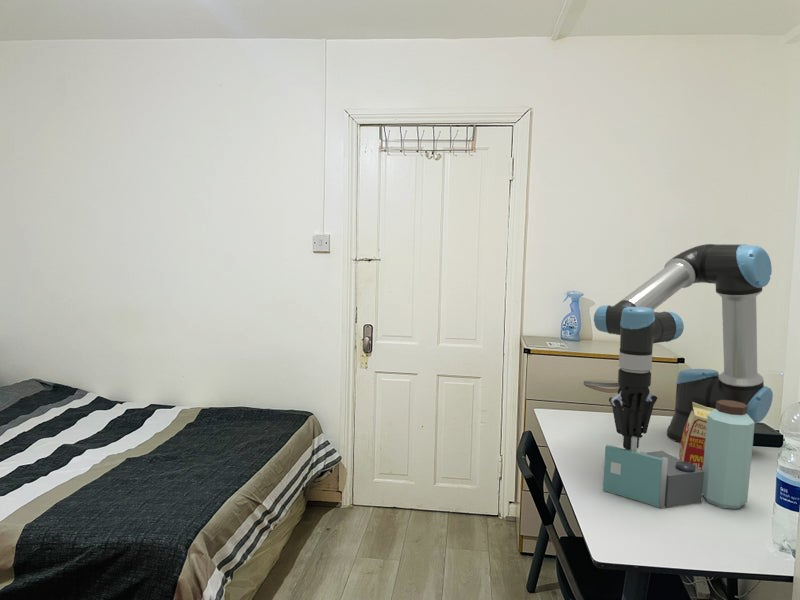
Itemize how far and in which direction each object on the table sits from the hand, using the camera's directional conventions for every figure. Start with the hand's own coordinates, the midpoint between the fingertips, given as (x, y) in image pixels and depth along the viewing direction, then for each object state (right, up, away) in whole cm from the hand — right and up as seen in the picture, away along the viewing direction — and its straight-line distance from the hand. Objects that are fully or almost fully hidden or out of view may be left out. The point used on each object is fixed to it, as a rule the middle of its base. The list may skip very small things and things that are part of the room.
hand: (630, 460), depth 141 cm
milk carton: (+25, -8, +16) cm, 31 cm away
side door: (0, -9, -2) cm, 9 cm away
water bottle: (+23, -10, -2) cm, 25 cm away
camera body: (+9, -9, +2) cm, 13 cm away
